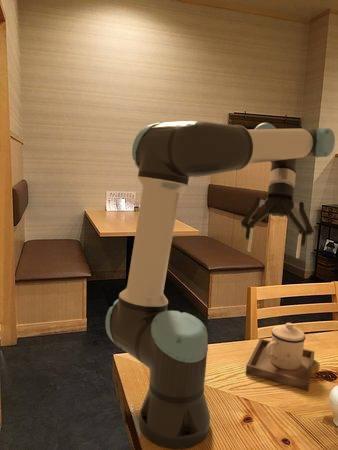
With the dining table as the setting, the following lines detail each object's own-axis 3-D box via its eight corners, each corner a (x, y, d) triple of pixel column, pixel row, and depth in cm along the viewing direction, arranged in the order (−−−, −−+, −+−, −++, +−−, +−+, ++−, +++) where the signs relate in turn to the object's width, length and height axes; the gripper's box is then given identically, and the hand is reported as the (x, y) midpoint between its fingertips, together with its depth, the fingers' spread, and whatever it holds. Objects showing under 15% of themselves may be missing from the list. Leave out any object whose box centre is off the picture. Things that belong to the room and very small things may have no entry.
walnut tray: (245, 373, 102) (246, 365, 102) (259, 345, 118) (260, 338, 118) (308, 391, 96) (309, 382, 95) (313, 359, 112) (314, 351, 111)
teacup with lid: (285, 351, 113) (289, 315, 111) (309, 367, 105) (313, 327, 103) (254, 359, 108) (257, 321, 106) (276, 376, 100) (281, 335, 98)
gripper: (323, 195, 115) (317, 263, 108) (240, 188, 121) (230, 251, 115) (327, 185, 108) (321, 256, 101) (239, 177, 115) (228, 244, 108)
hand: (272, 253), depth 108 cm, fingers open, 13 cm apart
